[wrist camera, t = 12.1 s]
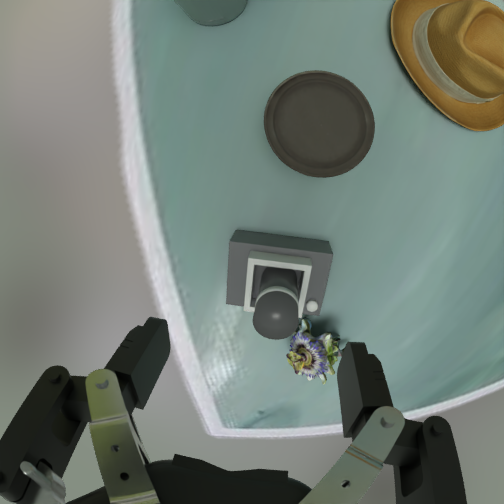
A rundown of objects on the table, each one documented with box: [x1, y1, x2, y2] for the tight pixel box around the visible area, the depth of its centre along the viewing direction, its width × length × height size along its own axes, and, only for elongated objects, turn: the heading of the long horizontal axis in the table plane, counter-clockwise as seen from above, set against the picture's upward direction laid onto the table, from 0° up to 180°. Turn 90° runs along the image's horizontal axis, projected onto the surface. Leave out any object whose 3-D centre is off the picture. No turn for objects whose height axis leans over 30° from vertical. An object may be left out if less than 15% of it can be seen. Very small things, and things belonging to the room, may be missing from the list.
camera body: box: [226, 230, 333, 318], centre depth 41 cm, size 10×14×8 cm
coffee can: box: [264, 70, 375, 178], centre depth 30 cm, size 10×10×14 cm
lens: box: [253, 266, 299, 339], centre depth 35 cm, size 5×5×10 cm
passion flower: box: [286, 317, 345, 384], centre depth 46 cm, size 11×11×12 cm
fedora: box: [391, 0, 504, 131], centre depth 21 cm, size 27×29×12 cm
